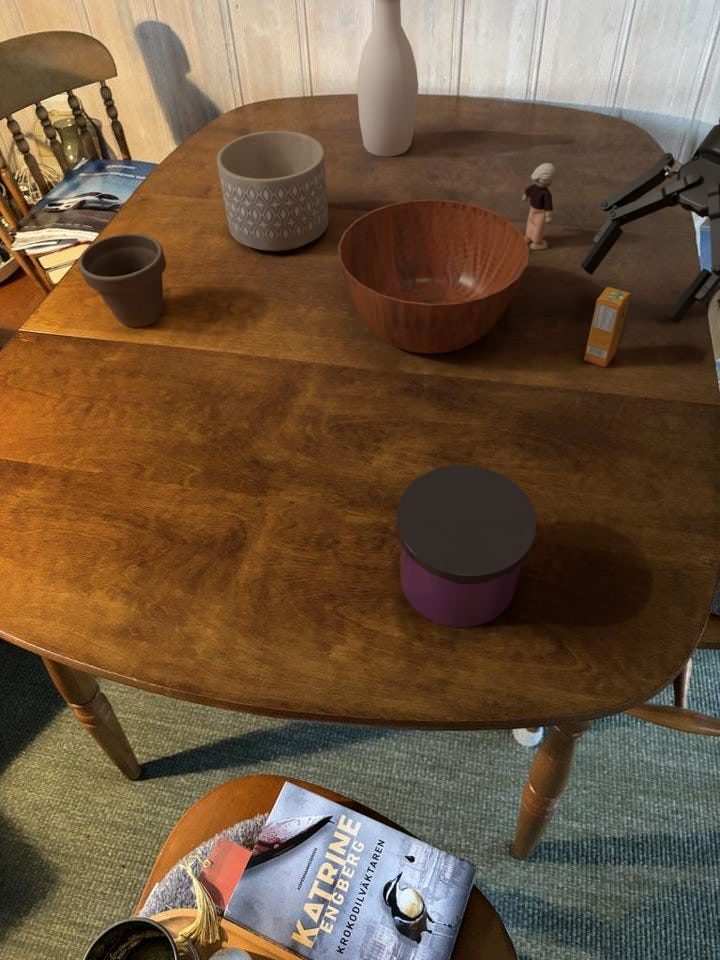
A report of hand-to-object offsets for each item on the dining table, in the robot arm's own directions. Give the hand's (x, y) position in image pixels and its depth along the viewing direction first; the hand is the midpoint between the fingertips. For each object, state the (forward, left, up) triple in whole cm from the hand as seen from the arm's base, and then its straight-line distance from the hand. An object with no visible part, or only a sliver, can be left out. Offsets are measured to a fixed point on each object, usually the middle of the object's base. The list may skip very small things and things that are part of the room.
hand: (627, 294), depth 91 cm
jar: (+8, +42, -9) cm, 44 cm away
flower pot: (+65, +16, -9) cm, 68 cm away
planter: (+56, -12, -9) cm, 58 cm away
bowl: (+25, +2, -9) cm, 27 cm away
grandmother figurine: (+16, -23, -9) cm, 29 cm away
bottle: (+50, -46, -9) cm, 69 cm away
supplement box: (+1, +2, -9) cm, 9 cm away
